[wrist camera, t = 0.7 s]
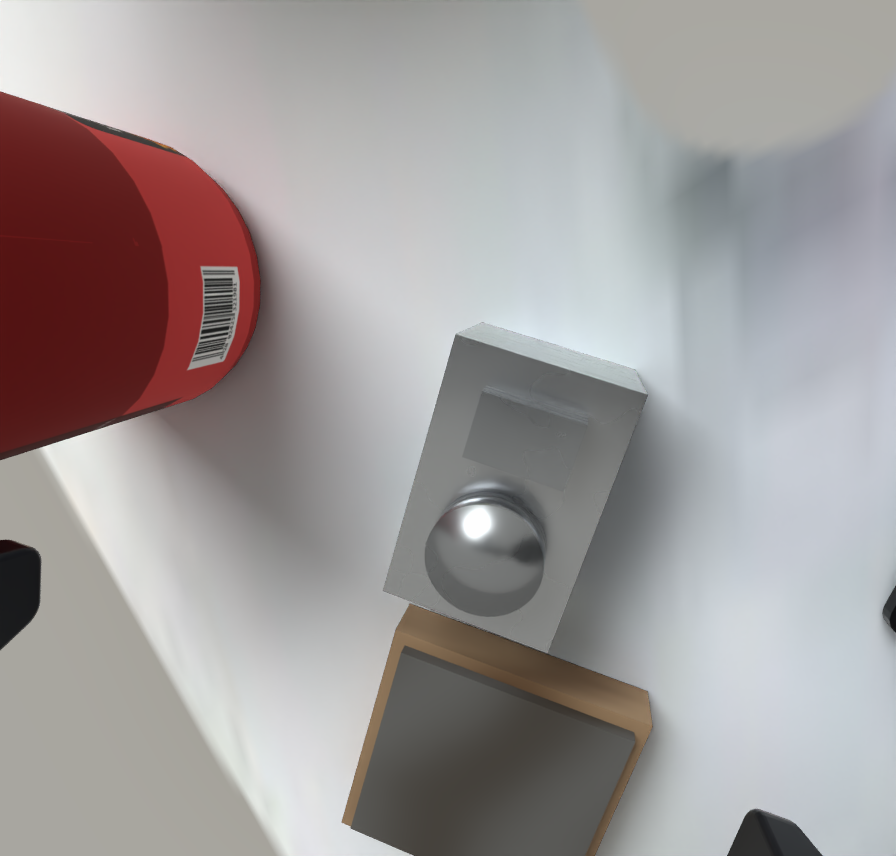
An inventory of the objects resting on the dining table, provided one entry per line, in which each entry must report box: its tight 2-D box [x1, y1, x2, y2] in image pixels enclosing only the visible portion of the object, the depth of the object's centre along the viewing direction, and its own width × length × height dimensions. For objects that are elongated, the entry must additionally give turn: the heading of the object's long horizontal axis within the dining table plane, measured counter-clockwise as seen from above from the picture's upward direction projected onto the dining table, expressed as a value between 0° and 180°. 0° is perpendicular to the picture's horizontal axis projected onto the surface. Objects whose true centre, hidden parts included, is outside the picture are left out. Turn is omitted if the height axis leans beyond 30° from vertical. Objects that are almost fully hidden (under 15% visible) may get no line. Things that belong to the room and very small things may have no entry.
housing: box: [383, 322, 648, 653], centre depth 16 cm, size 4×7×5 cm, turn 164°
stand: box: [342, 604, 653, 856], centre depth 20 cm, size 8×8×2 cm
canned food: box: [0, 92, 260, 460], centre depth 14 cm, size 8×8×11 cm
